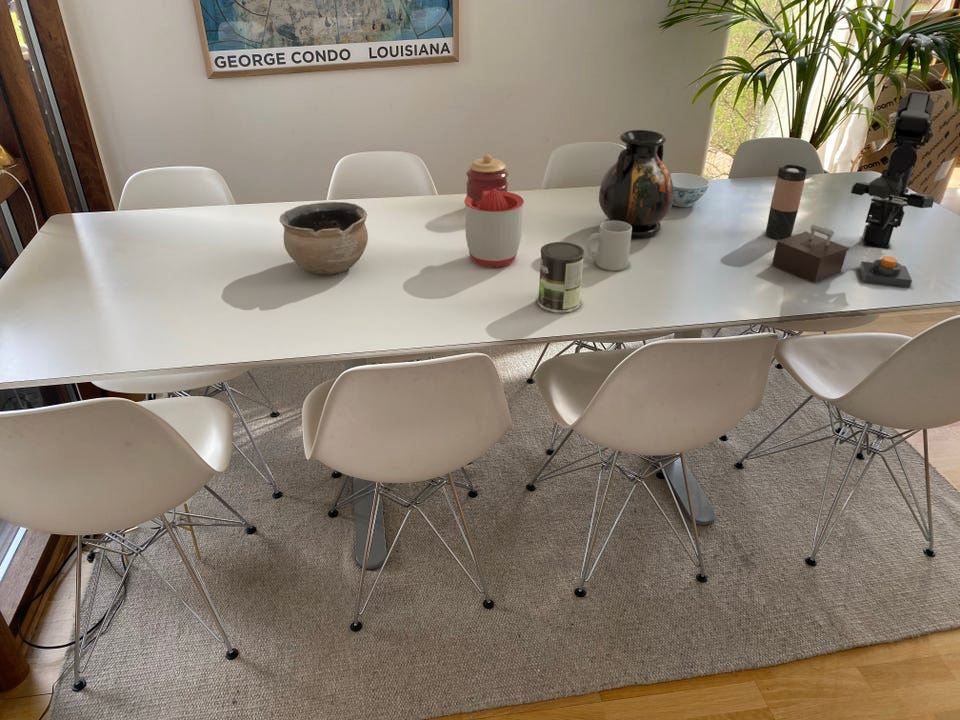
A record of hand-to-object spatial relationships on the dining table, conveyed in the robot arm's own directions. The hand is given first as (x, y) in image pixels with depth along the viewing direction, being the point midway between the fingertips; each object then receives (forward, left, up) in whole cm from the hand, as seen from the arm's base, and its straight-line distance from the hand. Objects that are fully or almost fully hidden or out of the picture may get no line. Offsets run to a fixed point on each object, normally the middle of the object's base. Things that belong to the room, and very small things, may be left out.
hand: (881, 228), depth 199 cm
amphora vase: (+64, -13, -13) cm, 67 cm away
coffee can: (+76, +41, -13) cm, 87 cm away
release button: (-3, +2, -9) cm, 10 cm away
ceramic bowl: (+139, +38, -13) cm, 145 cm away
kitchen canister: (+110, -16, -13) cm, 112 cm away
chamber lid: (+16, +2, -6) cm, 17 cm away
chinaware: (+51, -40, -13) cm, 66 cm away
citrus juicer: (+99, +20, -13) cm, 102 cm away
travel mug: (+22, -21, -13) cm, 33 cm away
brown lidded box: (+16, +2, -13) cm, 20 cm away
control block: (-3, +2, -13) cm, 13 cm away
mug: (+68, +15, -13) cm, 71 cm away
